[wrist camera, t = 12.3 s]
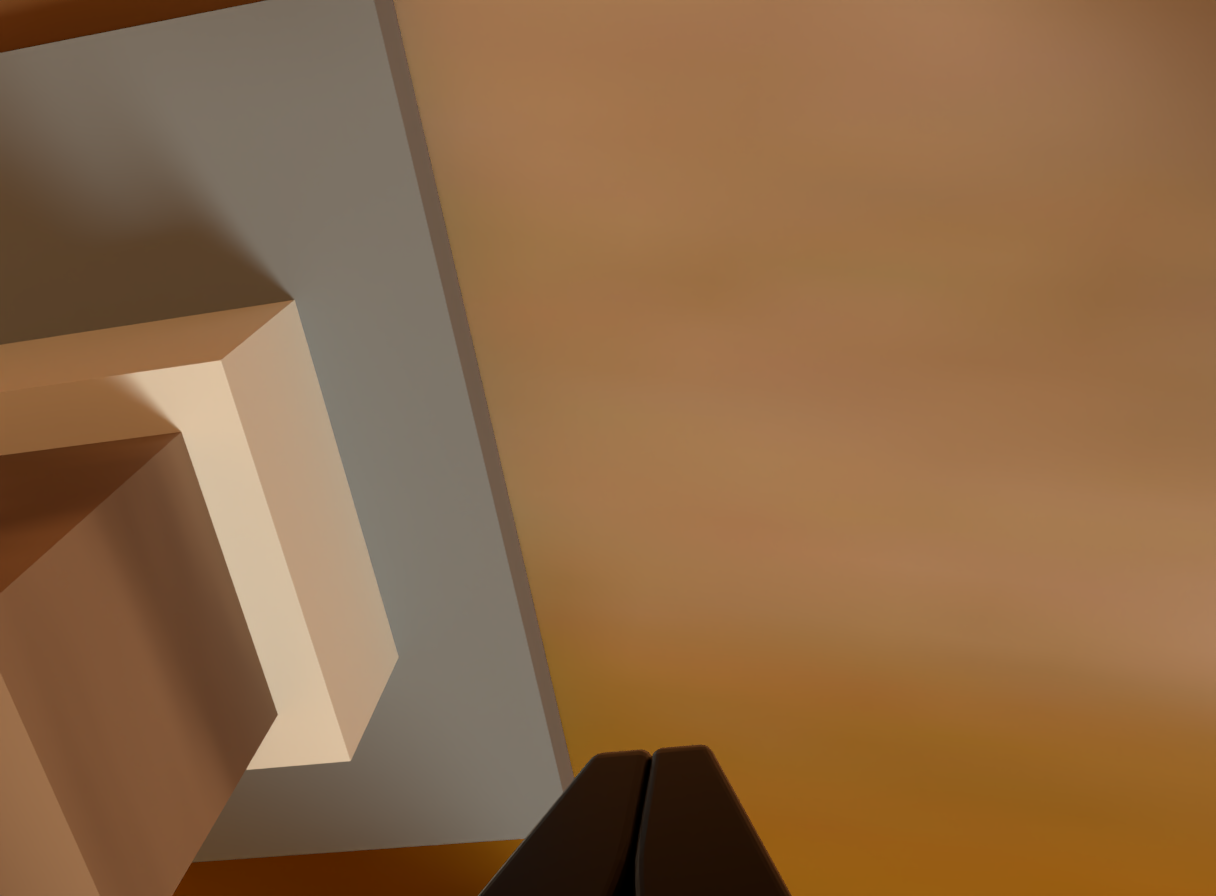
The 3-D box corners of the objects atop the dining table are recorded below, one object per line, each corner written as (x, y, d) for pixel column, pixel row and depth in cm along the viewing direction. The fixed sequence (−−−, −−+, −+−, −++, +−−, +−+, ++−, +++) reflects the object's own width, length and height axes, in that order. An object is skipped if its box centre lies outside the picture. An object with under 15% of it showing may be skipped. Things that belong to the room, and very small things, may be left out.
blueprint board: (387, -22, 18) (298, -14, 14) (579, 800, 24) (552, 956, 20) (-282, 109, 20) (-515, 148, 16) (54, 840, 26) (-57, 989, 22)
